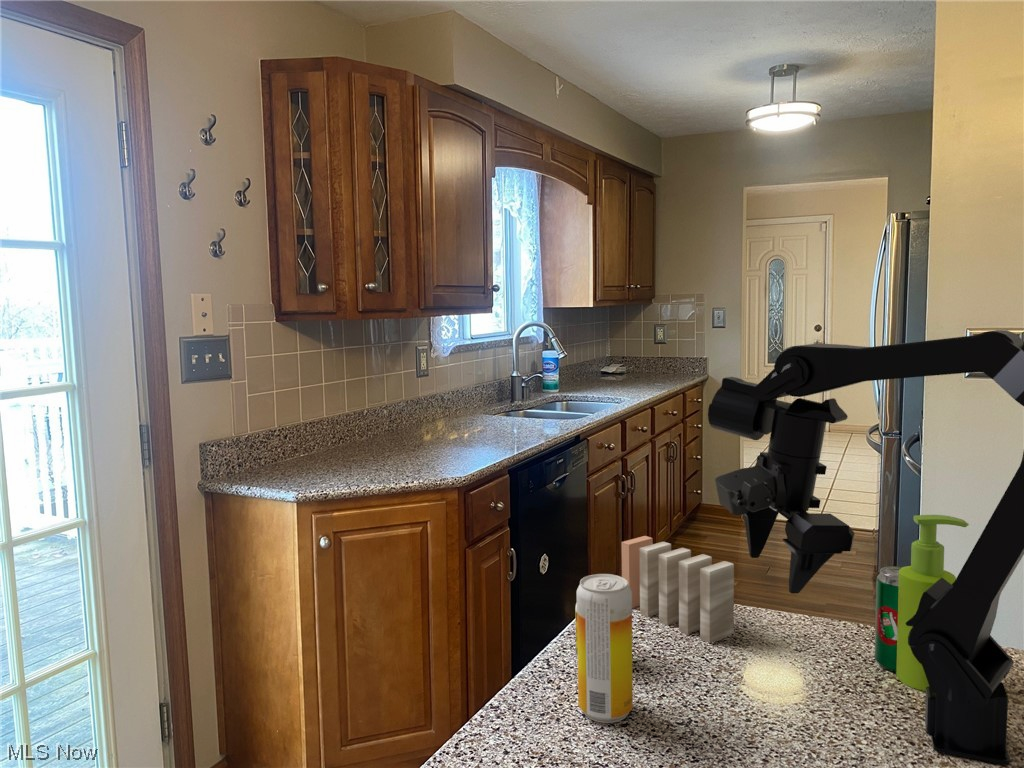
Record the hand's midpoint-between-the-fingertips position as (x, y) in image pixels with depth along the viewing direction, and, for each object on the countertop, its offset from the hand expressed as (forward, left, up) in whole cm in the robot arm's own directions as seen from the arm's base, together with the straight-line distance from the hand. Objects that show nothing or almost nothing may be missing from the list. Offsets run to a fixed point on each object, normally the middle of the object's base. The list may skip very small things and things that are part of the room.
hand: (772, 574), depth 90 cm
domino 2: (+18, -14, -13) cm, 26 cm away
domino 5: (+8, -8, -13) cm, 17 cm away
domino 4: (+11, -10, -13) cm, 20 cm away
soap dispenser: (-17, -5, -13) cm, 22 cm away
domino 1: (+21, -16, -13) cm, 30 cm away
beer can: (+16, +16, -13) cm, 26 cm away
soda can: (-14, -8, -13) cm, 21 cm away
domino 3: (+15, -12, -13) cm, 23 cm away
